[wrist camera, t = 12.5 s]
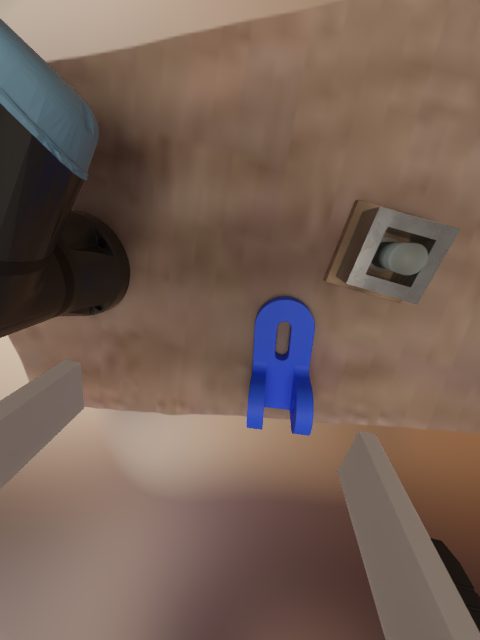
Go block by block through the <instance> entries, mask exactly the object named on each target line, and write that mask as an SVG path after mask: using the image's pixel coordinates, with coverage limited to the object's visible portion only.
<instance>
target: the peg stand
mask: <svg viewBox="0 0 480 640" xmlns="http://www.w3.org/2000/svg"><path fill="white" fill-rule="evenodd" d="M377 207H383V206H379V205H376V204H372V203H369V202H365V201H361V200H357V201H355V204H354V206H353V209H352V211H351V214H350V216H349V219H348V221H347V224H346V226H345V229H344V231H343V234H342V236H341V239H340V241H339V244H338V246H337V249H336V251H335V254H334V256H333V259H332V261H331V264H330V266H329V268H328V271H327V273H326V276H325V278H324V280H325V281H326V282H330V283H333V284H336V285H340V286H343V287H347V288H350V289H353V290H357V291H360V292H364V293H367V294H370V295H374V296H377V297H381V298H384V299H387V300H391V301H394V302H398V303H400V302H401V301H402V300H401V299H397V298H394V297H390V296H387V295H384V294H380V293H377V292H373V291H370V290H366V289H363V288H360V287H356V286H353V285H349V284H346V283H345V282H343V281H342V280H340V279H339V278H337V277H336V274H337V272H338V269H339V267H340V265H341V262H342V260H343V257H344V255H345V253H346V250H347V248H348V245H349V243H350V241H351V238H352V236H353V233H354V231H355V229H356V226H357V224H358V221H359V219H360V217H361V214H362V212H363V211H366V210H369V209H373V208H377ZM383 208H386V207H383ZM387 209H390V208H387ZM391 210H394V209H391ZM394 211H397V210H394ZM398 212H401V211H398ZM401 213H404V212H401ZM405 214H408V213H405ZM409 215H412V214H409ZM412 216H415V215H412ZM416 217H419V216H416ZM419 218H422V217H419ZM423 219H426V218H423ZM427 220H429V219H427ZM430 221H433V220H430ZM434 222H437V221H434ZM437 223H440V222H437ZM441 224H443V223H441ZM409 241H410V239H407V238H403V237H400V236H396V235H392V234H389V233H384V235H383V237H382V240H381V242H380V244H379V246H378V248H377V250H376V253H375V255H374V257H373V259H372V261H371V263H370V266H369V268H368V270H367V272H366V273H369V274H373V275H376V276H380V277H383V278H386V279H390V278H391V276H392V274H393V272H396V273H399V274H402V275H412V274H415V273H417V272H419V271H420V270H421V269H422V268H423V267H424V266H425V265H426V263H427V260H428V252H427V250H426V248H425V247H424V246H422V245H421V244H417V243H409Z"/></svg>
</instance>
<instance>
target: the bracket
mask: <svg viewBox="0 0 480 640" xmlns="http://www.w3.org/2000/svg"><path fill="white" fill-rule="evenodd" d="M283 321H286V322H288V323H290V324H291V328H290V338H289V347H288V352H287V353H286V354H284V355H280V354H277V353H276V352H275V344H276V332H277V326H278V324H279V323H280V322H283ZM314 331H315V324H314V319H313V317H312V314H311V312H310V310H309V309H308V307H307V306H306V305H305V304H304V303H303V302H301V301H300V300H298V299H296V298H293V297H286V296H283V297H277V298H274V299H271V300H269V301H268V302H266V303H265V304H264V305H263V306H262V307H261V309H260V310H259V312H258V315H257V318H256V322H255V336H254V355H253V369H252V376H251V382H250V389H249V398H248V410H247V428H254V429H262V425H263V412H264V407H270V408H279V409H287V410H290V420H291V430H292V433H293V434H301V435H310V433H311V429H312V423H313V392H312V387H311V383H310V378H309V366H310V359H311V352H312V345H313V338H314Z"/></svg>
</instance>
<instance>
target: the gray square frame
mask: <svg viewBox="0 0 480 640" xmlns="http://www.w3.org/2000/svg"><path fill="white" fill-rule="evenodd" d="M459 230H460V229H459V228H455V227H452V226H448V225H445V224H441V223H437V222H434V221H430V220H427V219H423V218H419V217H416V216H412V215H409V214H405V213H401V212H398V211H394V210H391V209H387V208H383V207H377V208H373V209H369V210H366V211H363V212H362V214H361V217H360V219H359V221H358V224H357V226H356V229H355V231H354V233H353V236H352V238H351V241H350V243H349V245H348V248H347V250H346V253H345V255H344V257H343V260H342V262H341V265H340V267H339V269H338V272H337V274H336V277H337V278H339V279H340V280H342V281H343V282H345V283H346V284H349V285H353V286H356V287H360V288H363V289H366V290H370V291H373V292H377V293H380V294H384V295H387V296H390V297H394V298H397V299H401V300H404V301H408V302H411V303H414V304H418V302H419V300H420V299H421V297H422V295H423V293H424V292H425V290H426V288H427V286H428V285H429V283H430V281H431V279H432V278H433V276H434V274H435V272H436V271H437V269H438V267H439V265H440V264H441V262H442V260H443V258H444V256H445V255H446V253H447V251H448V249H449V248H450V246H451V244H452V242H453V241H454V239H455V237H456V235H457V234H458V232H459ZM384 233H389V234H392V235H396V236H400V237H403V238H407V239H410V241H409V243H417V244H421V245H422V246H424V247H425V248H426V250H427V252H428V260H427V263H426V265H425V266H424V267H423V268H422V269H421V270H420V271H419V272H417V273H415V274H412V275H402V274H399V273H396V272H393V274H392V276H391V278H390V279H386V278H383V277H380V276H376V275H373V274H369V273H366V272H367V270H368V268H369V266H370V263H371V261H372V259H373V257H374V255H375V253H376V250H377V248H378V246H379V244H380V242H381V240H382V237H383V235H384Z"/></svg>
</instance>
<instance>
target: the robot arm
mask: <svg viewBox="0 0 480 640" xmlns="http://www.w3.org/2000/svg"><path fill="white" fill-rule="evenodd" d="M98 140H99V126H98V122H97V119H96V116H95V114H94V113H93V111H92V109H91V108H90V106H89V105H88V104H87V102H86V101H85V100H84V99H83V98H82V97H81V96H80V95H79V94H78V93H77V92H76V91H75V90H74V89H73V88H72V87H71V86H70V85H69V84H68V83H67V82H66V81H65V80H64V79H63V78H62V77H61V76H60V75H59V74H58V73H57V72H56V71H55V70H54V69H53V68H52V67H51V66H49V65H48V64H47V63H46V62H45V61H44V60H43V59H42V58H41V57H40V56H39V55H38V54H37V53H35V51H34V50H33V49H32V48H30V47H29V46H28V45H27V44H26V43H25V42H24V41H23V40H22V39H21V38H20V37H19V36H18V35H17V34H16V33H15V32H14V31H13V30H12V29H11V28H10V27H9V26H8V25H6V24H5V23H4V22H3V21H2V20H1V19H0V338H1V337H4V336H6V335H9V334H12V333H14V332H17V331H20V330H22V329H25V328H28V327H30V326H33V325H36V324H38V323H41V322H44V321H46V320H49V319H51V318H54V317H57V316H90V315H95V314H99V313H101V312H104V311H106V310H108V309H110V308H112V307H114V306H115V305H117V304H118V303H119V302H120V301H121V299H122V298H123V297H124V295H125V293H126V290H127V288H128V284H129V264H128V260H127V256H126V253H125V251H124V249H123V247H122V245H121V243H120V241H119V240H118V238H117V237H116V235H115V234H114V233H113V232H112V231H111V230H110V228H109V227H107V226H106V225H105V224H104V223H103V222H101V221H100V220H98V219H97V218H95V217H93V216H91V215H89V214H86V213H82V212H77V211H71V209H72V207H73V204H74V202H75V199H76V197H77V195H78V193H79V191H80V188H81V186H82V184H83V182H84V180H85V181H86V180H87V179H88V176H89V174H88V169H89V166H90V163H91V160H92V157H93V154H94V152H95V149H96V146H97V143H98ZM83 408H84V405H83V386H82V366H81V363H80V362H76V361H72V360H68V359H65V360H63V361H62V362H60V363H59V364H57V365H56V366H54V367H52V368H51V369H49V370H48V371H46V372H45V373H43V374H42V375H40V376H38V377H37V378H35V379H34V380H32V381H31V382H29V383H28V384H26V385H24V386H23V387H21V388H20V389H18V390H17V391H15V392H14V393H12V394H10V395H9V396H7V397H6V398H4V399H2V400H1V401H0V489H1V488H2V487H3V486H4V485H5V484H6V483H7V482H8V481H9V480H10V479H11V478H12V477H13V476H14V475H16V473H18V471H20V470H21V469H22V468H23V467H24V466H25V465H26V464H27V463H28V462H29V461H30V460H31V459H32V458H33V457H34V456H35V455H36V454H37V453H38V452H39V451H40V450H41V449H42V448H43V447H44V446H45V445H46V444H47V443H48V442H50V441H51V440H52V439H53V438H54V436H56V435H57V434H58V433H59V432H60V431H61V430H62V429H63V428H64V427H65V426H66V425H67V424H68V423H69V422H70V421H71V420H72V419H73V418H74V417H75V416H76V415H77V414H78V413H79V412H80V411H81V410H82V409H83ZM338 476H339V478H340V482H341V486H342V489H343V493H344V496H345V500H346V503H347V507H348V510H349V514H350V517H351V521H352V524H353V528H354V531H355V535H356V538H357V542H358V545H359V548H360V552H361V556H362V559H363V562H364V566H365V570H366V573H367V576H368V580H369V584H370V587H371V591H372V594H373V597H374V601H375V604H376V608H377V611H378V615H379V618H380V622H381V625H382V629H383V632H384V636H385V639H386V640H480V597H479V596H478V594H477V593H475V591H474V587H473V585H472V583H471V582H470V580H469V578H468V576H467V575H466V573H465V571H464V570H463V568H462V566H461V564H460V563H459V562H458V560H457V559H456V558H455V557H454V555H453V554H452V553H451V552H450V551H449V549H448V548H447V547H446V546H445V544H444V543H443V542H442V541H440V540H436V539H432V538H430V537H429V535H428V533H427V531H426V529H425V528H424V526H423V524H422V522H421V520H420V518H419V516H418V514H417V512H416V511H415V508H414V507H413V505H412V503H411V501H410V499H409V497H408V495H407V493H406V492H405V489H404V488H403V486H402V484H401V482H400V480H399V478H398V476H397V474H396V472H395V471H394V469H393V467H392V465H391V463H390V461H389V459H388V457H387V455H386V453H385V451H384V450H383V448H382V446H381V444H380V442H379V440H378V438H377V436H376V435H375V434H371V433H367V432H363V431H358V433H357V435H356V437H355V439H354V441H353V443H352V445H351V447H350V449H349V451H348V452H347V454H346V456H345V458H344V460H343V462H342V464H341V466H340V468H339V470H338Z"/></svg>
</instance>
